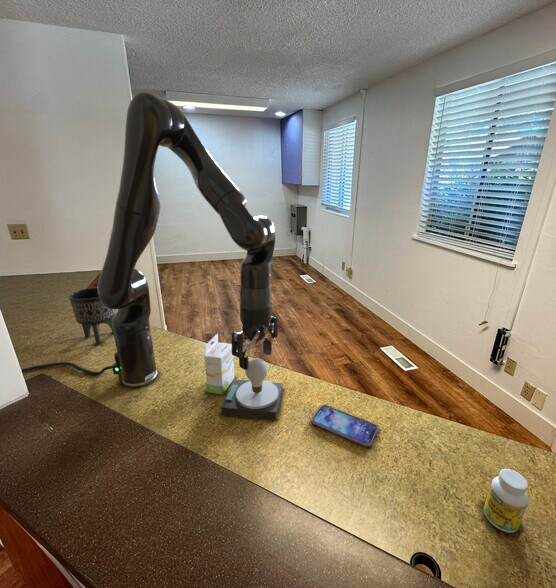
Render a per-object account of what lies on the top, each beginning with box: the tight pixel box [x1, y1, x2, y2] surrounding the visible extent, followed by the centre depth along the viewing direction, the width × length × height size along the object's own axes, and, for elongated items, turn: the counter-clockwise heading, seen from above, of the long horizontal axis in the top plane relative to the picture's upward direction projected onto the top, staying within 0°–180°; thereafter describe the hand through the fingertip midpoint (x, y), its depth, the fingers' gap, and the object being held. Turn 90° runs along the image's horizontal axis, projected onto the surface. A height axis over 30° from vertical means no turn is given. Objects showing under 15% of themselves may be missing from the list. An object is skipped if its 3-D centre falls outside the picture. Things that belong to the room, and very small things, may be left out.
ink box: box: [204, 333, 235, 395], centre depth 86 cm, size 9×5×15 cm, turn 168°
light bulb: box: [244, 357, 269, 393], centre depth 80 cm, size 6×6×10 cm
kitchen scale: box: [220, 378, 283, 421], centre depth 82 cm, size 14×12×3 cm
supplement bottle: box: [483, 468, 529, 533], centre depth 53 cm, size 5×5×10 cm
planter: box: [68, 287, 116, 346], centre depth 111 cm, size 13×13×18 cm
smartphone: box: [311, 404, 378, 447], centre depth 75 cm, size 7×1×15 cm
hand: (256, 361), depth 78 cm, fingers open, 8 cm apart
